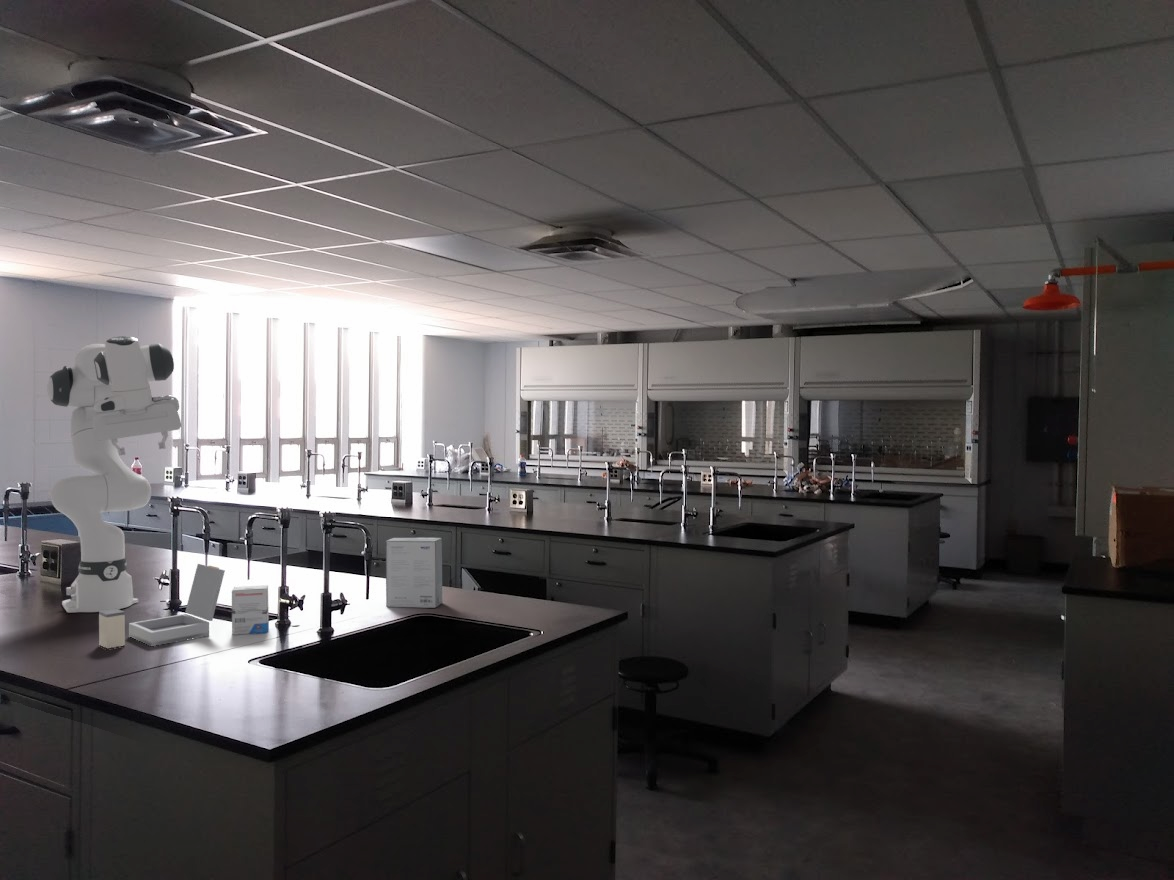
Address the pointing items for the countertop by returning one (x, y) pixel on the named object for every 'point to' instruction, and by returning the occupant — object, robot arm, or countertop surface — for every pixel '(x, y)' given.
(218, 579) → the case lid
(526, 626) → the countertop surface
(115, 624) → the block
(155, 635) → the case
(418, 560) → the hard drive box
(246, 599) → the ink box
